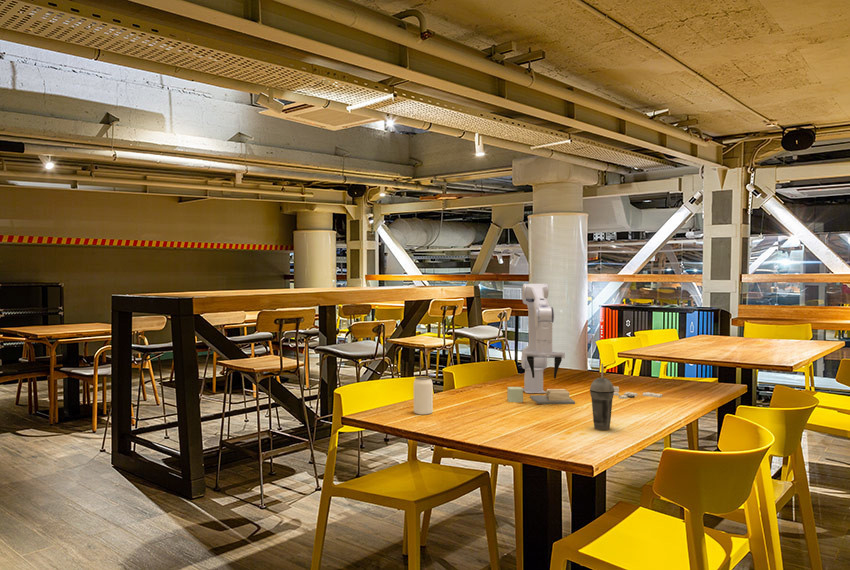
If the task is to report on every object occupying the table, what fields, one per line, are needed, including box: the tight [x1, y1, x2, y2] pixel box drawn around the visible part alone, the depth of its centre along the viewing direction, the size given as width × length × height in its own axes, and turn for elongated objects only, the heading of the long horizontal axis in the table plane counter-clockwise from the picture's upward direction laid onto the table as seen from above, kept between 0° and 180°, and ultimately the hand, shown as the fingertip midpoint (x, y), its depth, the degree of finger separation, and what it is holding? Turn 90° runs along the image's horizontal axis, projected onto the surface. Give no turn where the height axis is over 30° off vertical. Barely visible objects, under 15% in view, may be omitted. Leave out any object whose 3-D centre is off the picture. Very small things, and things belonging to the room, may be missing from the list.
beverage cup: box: [589, 363, 615, 431], centre depth 192 cm, size 7×7×20 cm
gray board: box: [529, 394, 576, 405], centre depth 236 cm, size 13×14×1 cm
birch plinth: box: [545, 388, 570, 401], centre depth 236 cm, size 7×7×3 cm
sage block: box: [507, 386, 524, 403], centre depth 235 cm, size 5×5×5 cm
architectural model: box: [613, 385, 663, 400], centre depth 245 cm, size 20×24×2 cm
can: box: [413, 376, 434, 416], centre depth 214 cm, size 6×6×12 cm
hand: (544, 377), depth 228 cm, fingers open, 7 cm apart
